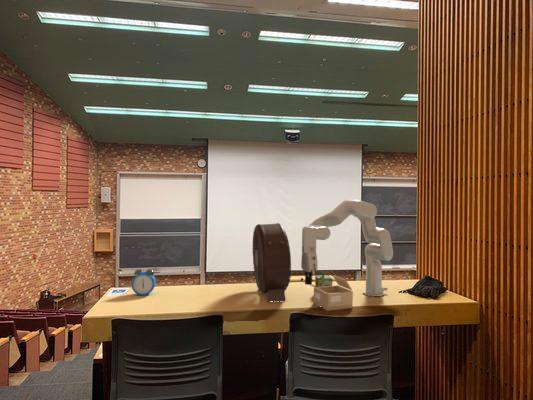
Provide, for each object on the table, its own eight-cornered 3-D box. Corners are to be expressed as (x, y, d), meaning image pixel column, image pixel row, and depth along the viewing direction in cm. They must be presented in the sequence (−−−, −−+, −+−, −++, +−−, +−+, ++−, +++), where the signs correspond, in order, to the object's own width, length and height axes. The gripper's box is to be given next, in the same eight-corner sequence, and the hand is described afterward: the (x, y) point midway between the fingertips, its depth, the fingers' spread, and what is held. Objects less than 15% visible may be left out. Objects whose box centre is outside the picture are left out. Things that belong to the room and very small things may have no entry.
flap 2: (338, 284, 201) (338, 284, 201) (351, 290, 190) (352, 289, 190) (332, 275, 200) (332, 275, 200) (345, 280, 188) (346, 279, 188)
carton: (337, 300, 202) (337, 285, 202) (353, 308, 189) (353, 291, 189) (313, 303, 196) (313, 287, 196) (327, 311, 182) (327, 294, 182)
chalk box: (332, 298, 208) (333, 273, 208) (317, 298, 207) (317, 273, 208) (329, 294, 217) (329, 270, 217) (314, 293, 217) (315, 270, 217)
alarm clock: (130, 296, 204) (131, 270, 204) (133, 293, 210) (133, 268, 210) (154, 295, 206) (154, 270, 206) (155, 292, 212) (156, 268, 212)
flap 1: (304, 281, 193) (304, 281, 193) (316, 286, 181) (316, 287, 181) (314, 286, 195) (314, 287, 195) (326, 292, 183) (326, 292, 183)
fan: (292, 304, 194) (294, 225, 194) (261, 305, 191) (262, 225, 191) (276, 286, 235) (277, 221, 235) (250, 286, 231) (251, 221, 231)
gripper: (322, 251, 181) (321, 286, 181) (308, 247, 195) (307, 280, 195) (309, 251, 178) (309, 287, 178) (296, 248, 192) (295, 281, 192)
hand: (308, 284), depth 186 cm, fingers closed
